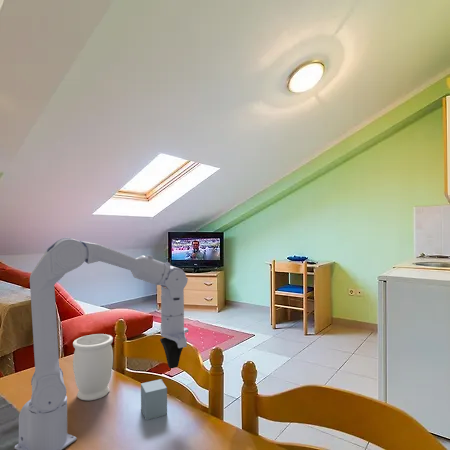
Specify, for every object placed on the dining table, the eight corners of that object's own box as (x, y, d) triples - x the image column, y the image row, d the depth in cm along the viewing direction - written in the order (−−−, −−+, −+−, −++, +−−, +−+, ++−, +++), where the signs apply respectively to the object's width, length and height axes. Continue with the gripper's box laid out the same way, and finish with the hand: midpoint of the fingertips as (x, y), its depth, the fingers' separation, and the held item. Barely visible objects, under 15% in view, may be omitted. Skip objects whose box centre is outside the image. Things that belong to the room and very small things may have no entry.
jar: (114, 398, 89) (114, 343, 89) (72, 406, 85) (71, 348, 85) (112, 381, 99) (112, 331, 99) (74, 388, 95) (74, 335, 95)
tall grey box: (146, 420, 79) (145, 392, 79) (141, 409, 84) (140, 383, 84) (167, 414, 82) (167, 387, 82) (161, 404, 86) (161, 379, 86)
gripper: (198, 318, 80) (198, 374, 80) (178, 305, 93) (178, 354, 93) (170, 322, 76) (170, 381, 76) (153, 308, 89) (153, 359, 89)
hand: (173, 366), depth 84 cm, fingers closed
